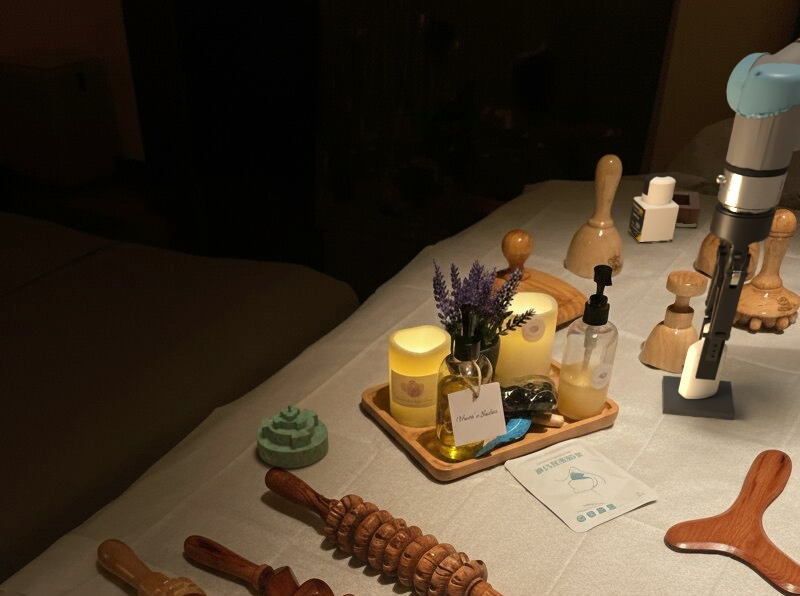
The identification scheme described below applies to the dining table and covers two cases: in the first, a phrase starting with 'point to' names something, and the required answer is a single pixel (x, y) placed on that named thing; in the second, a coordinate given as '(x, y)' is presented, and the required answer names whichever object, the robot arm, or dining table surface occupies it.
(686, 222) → the holder
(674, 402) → the coaster
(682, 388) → the eye dropper bottle
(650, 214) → the medicine bottle
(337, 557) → the dining table surface
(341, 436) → the dining table surface
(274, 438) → the decorative artifact
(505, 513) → the dining table surface
